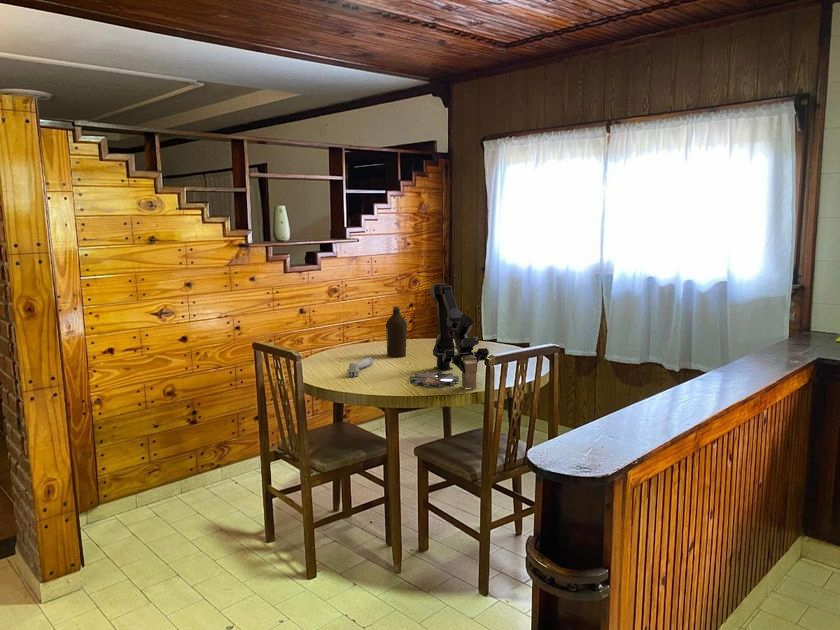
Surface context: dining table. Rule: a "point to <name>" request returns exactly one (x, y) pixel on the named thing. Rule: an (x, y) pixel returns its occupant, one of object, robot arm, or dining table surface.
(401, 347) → the olive oil
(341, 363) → the dining table surface
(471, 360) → the link block
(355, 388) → the dining table surface
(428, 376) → the sprocket plate
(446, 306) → the robot arm
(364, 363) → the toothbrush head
